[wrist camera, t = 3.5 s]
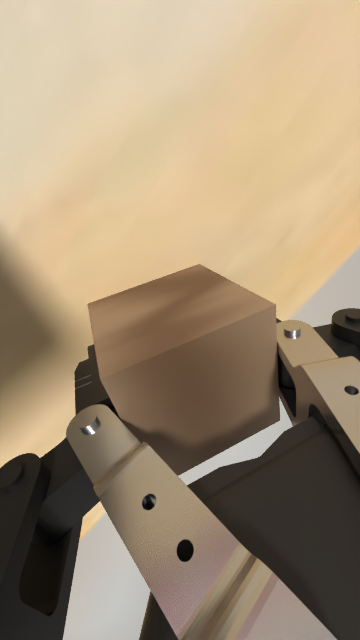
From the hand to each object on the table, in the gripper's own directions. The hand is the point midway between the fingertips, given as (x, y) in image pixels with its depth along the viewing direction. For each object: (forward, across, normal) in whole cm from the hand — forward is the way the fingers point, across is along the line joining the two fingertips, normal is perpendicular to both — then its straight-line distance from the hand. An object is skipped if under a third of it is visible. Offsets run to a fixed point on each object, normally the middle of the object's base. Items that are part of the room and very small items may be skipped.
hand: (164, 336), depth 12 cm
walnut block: (0, 0, 0) cm, 0 cm away
